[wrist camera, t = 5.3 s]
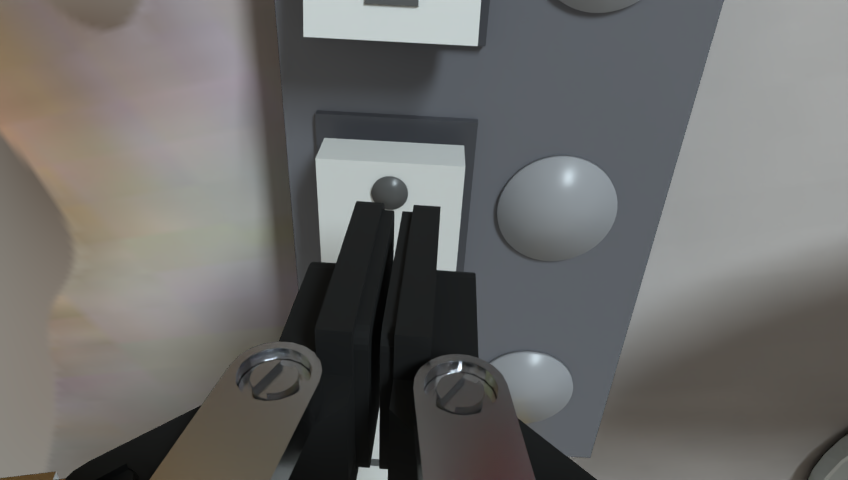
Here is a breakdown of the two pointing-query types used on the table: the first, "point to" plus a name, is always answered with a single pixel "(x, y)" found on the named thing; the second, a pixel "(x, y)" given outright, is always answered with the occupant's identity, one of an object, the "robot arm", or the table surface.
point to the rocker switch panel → (524, 169)
